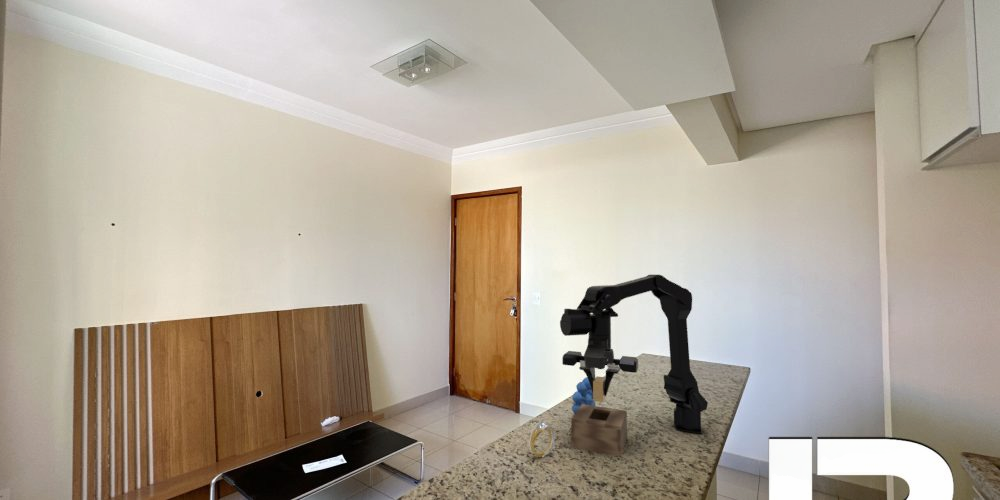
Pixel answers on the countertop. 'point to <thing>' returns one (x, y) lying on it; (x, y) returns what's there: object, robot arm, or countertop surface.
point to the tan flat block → (599, 389)
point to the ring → (534, 436)
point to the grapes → (582, 395)
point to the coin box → (599, 429)
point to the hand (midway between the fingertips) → (599, 394)
